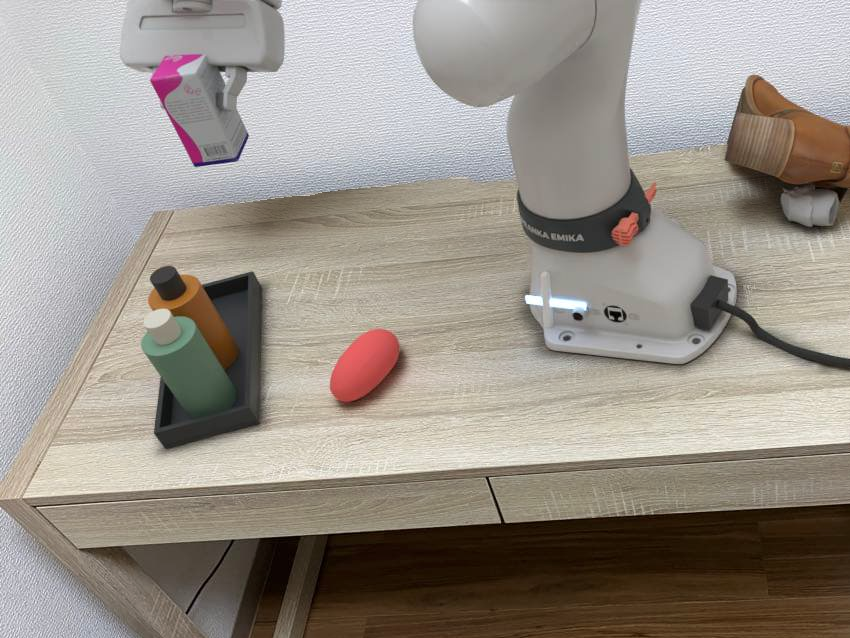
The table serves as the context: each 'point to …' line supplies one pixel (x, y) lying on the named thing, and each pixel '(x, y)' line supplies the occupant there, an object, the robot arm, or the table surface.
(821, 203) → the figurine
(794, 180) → the boot
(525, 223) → the robot arm
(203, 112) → the supplement box
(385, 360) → the stress ball
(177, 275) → the amber bottle
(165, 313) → the sage bottle
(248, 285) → the tray
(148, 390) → the table surface
